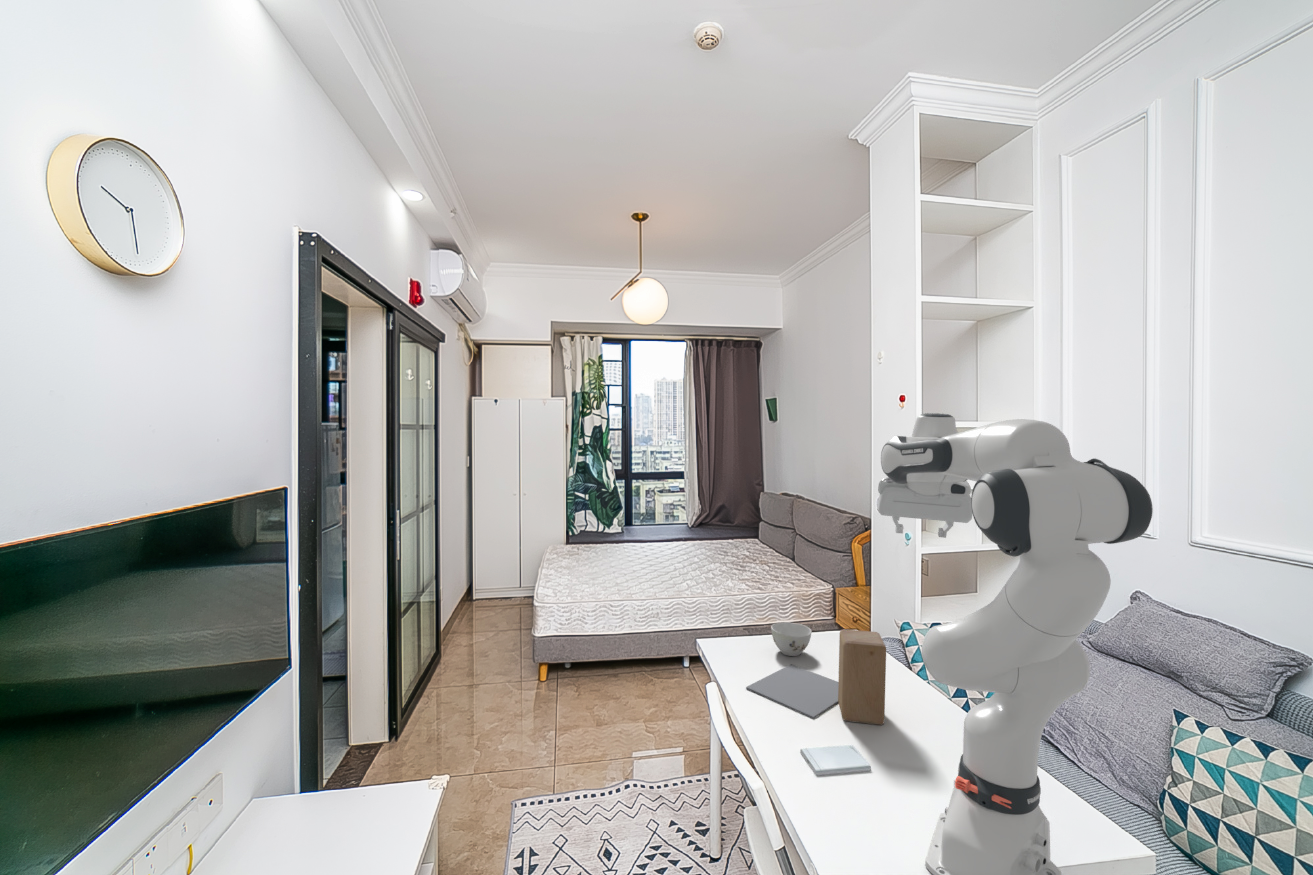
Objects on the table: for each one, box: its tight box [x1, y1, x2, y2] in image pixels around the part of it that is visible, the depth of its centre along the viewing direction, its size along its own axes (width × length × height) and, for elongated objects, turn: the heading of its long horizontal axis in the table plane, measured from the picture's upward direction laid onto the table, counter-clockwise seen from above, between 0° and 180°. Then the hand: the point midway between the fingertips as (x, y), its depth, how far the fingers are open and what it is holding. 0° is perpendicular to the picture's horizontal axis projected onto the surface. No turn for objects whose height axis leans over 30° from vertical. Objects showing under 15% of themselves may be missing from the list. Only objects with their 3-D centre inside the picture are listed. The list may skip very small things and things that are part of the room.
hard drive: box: [799, 744, 872, 776], centre depth 123 cm, size 2×8×12 cm
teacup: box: [770, 621, 812, 657], centre depth 181 cm, size 15×12×8 cm
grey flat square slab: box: [745, 663, 839, 719], centre depth 156 cm, size 22×21×1 cm
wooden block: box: [838, 628, 887, 726], centre depth 143 cm, size 10×10×20 cm
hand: (920, 534), depth 135 cm, fingers open, 8 cm apart
